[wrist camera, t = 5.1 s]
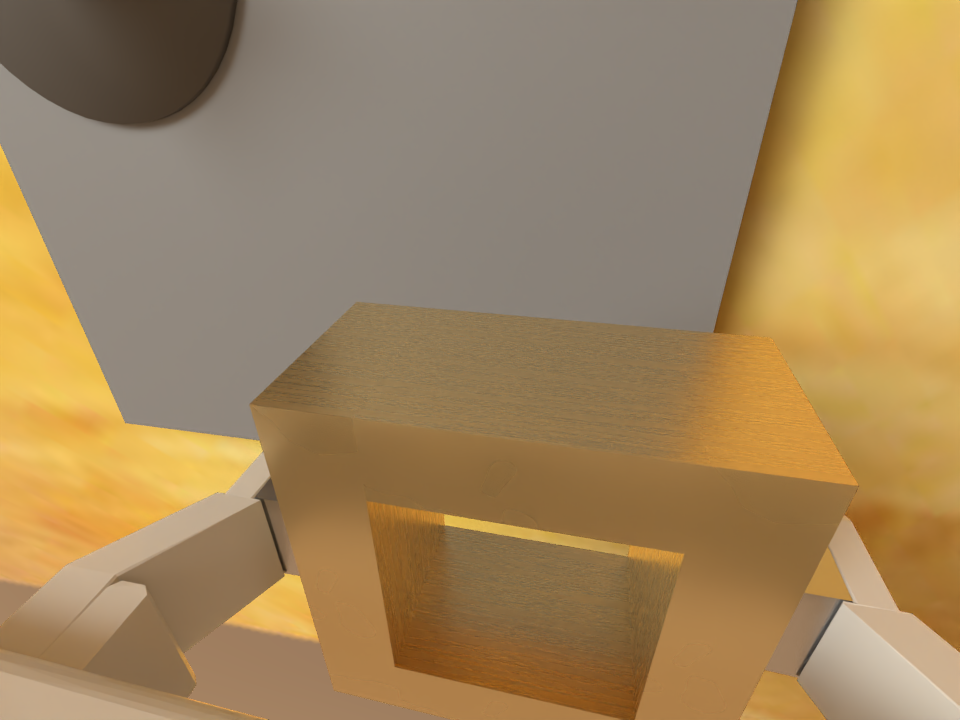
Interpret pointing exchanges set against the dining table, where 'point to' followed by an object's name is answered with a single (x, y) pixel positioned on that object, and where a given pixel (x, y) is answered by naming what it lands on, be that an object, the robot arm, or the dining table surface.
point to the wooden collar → (548, 511)
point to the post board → (374, 170)
